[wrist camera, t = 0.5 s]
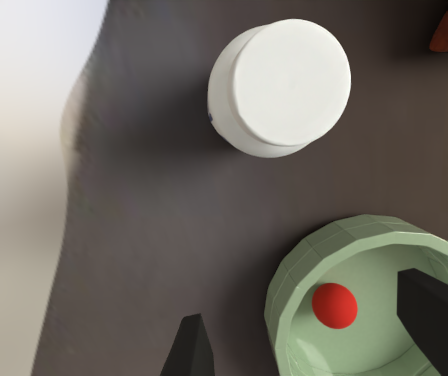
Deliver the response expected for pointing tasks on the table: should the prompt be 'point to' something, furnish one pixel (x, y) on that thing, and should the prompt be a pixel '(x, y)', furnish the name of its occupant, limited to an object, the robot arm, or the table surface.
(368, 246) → the bowl
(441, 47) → the ocarina
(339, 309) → the ball
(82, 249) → the table surface
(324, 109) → the pill bottle
